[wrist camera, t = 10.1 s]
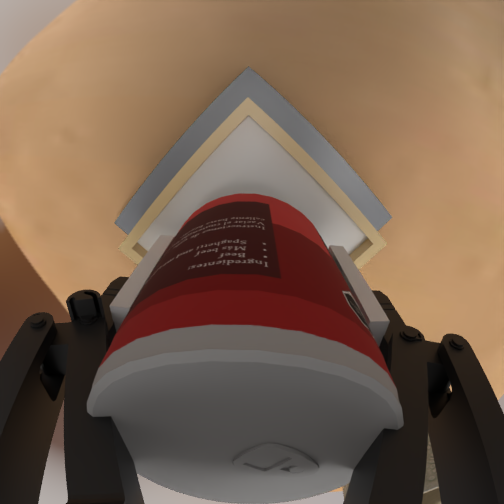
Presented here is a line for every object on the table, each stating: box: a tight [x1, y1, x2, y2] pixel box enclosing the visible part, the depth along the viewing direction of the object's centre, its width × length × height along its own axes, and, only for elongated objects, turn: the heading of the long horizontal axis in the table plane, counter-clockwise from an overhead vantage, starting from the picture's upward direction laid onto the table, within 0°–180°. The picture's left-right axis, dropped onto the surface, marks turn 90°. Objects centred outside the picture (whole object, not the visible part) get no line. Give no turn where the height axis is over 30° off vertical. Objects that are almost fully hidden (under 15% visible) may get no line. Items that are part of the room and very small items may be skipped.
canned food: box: [87, 193, 404, 504], centre depth 11 cm, size 8×8×11 cm
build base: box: [115, 66, 392, 270], centre depth 21 cm, size 16×16×7 cm
